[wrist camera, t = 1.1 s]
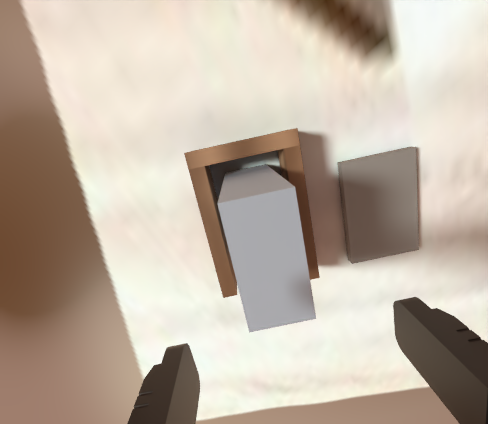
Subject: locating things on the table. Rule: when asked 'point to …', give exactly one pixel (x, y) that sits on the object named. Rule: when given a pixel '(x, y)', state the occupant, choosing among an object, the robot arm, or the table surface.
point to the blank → (266, 247)
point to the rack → (208, 200)
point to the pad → (380, 204)
